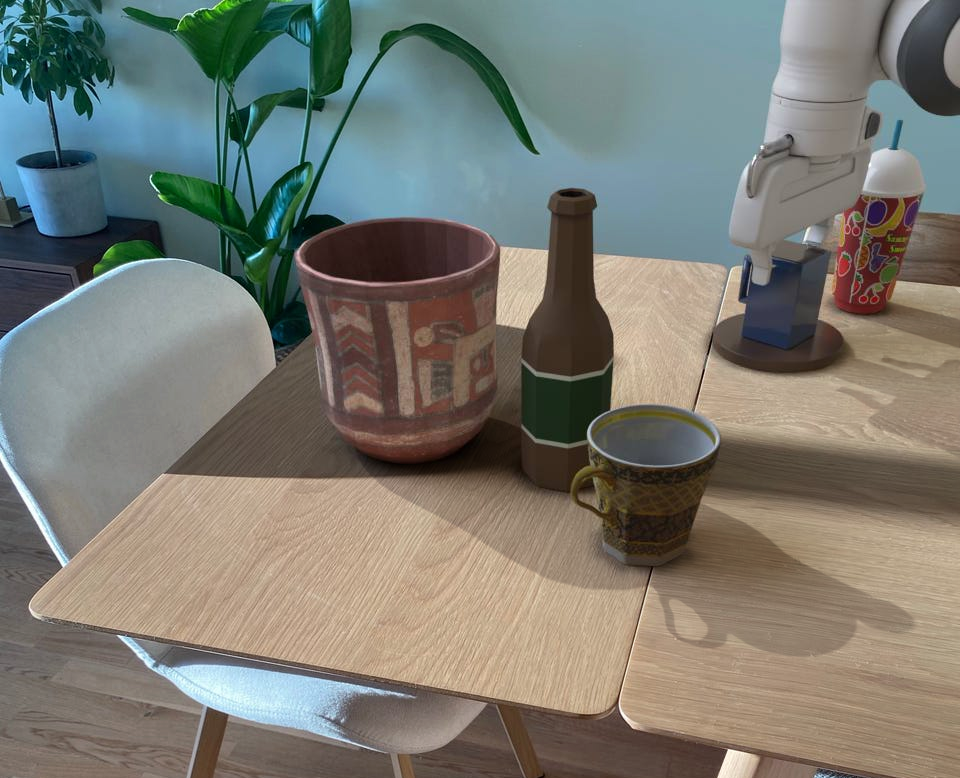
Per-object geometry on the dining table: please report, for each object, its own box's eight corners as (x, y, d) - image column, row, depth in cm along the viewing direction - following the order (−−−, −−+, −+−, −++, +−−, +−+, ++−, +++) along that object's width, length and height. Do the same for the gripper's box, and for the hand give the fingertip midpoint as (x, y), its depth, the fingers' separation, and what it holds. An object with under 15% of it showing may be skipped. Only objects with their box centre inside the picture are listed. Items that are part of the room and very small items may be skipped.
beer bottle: (560, 442, 93) (567, 172, 78) (624, 469, 89) (645, 190, 73) (503, 472, 89) (499, 194, 74) (567, 503, 85) (578, 214, 69)
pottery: (309, 484, 88) (276, 287, 77) (332, 397, 102) (308, 217, 90) (503, 480, 88) (501, 281, 76) (502, 393, 101) (499, 212, 90)
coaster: (859, 336, 110) (861, 326, 109) (815, 383, 101) (817, 372, 100) (742, 312, 116) (743, 302, 115) (691, 354, 107) (692, 344, 107)
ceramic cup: (644, 498, 85) (654, 391, 79) (731, 548, 79) (749, 437, 72) (528, 552, 79) (529, 441, 73) (612, 611, 73) (620, 496, 67)
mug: (815, 333, 108) (831, 250, 102) (787, 350, 105) (802, 264, 99) (749, 314, 112) (761, 233, 106) (720, 329, 109) (731, 247, 103)
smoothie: (886, 323, 112) (933, 133, 99) (814, 311, 116) (850, 125, 103) (902, 299, 118) (948, 115, 105) (832, 288, 121) (869, 108, 108)
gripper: (784, 153, 87) (758, 305, 96) (892, 113, 98) (860, 253, 107) (724, 141, 90) (705, 290, 99) (835, 104, 101) (809, 240, 110)
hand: (786, 270), depth 103 cm, fingers open, 8 cm apart
